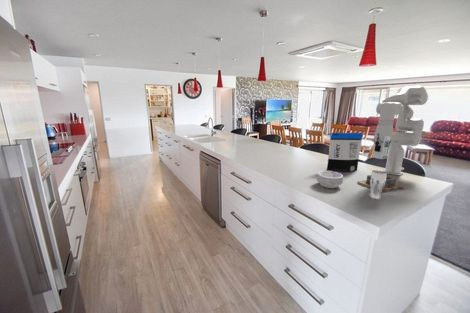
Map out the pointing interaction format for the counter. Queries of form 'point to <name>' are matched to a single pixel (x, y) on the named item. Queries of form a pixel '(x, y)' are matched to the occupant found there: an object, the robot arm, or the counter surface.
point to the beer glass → (377, 184)
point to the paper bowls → (329, 179)
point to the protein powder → (344, 152)
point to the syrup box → (382, 149)
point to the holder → (388, 186)
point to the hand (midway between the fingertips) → (381, 150)
